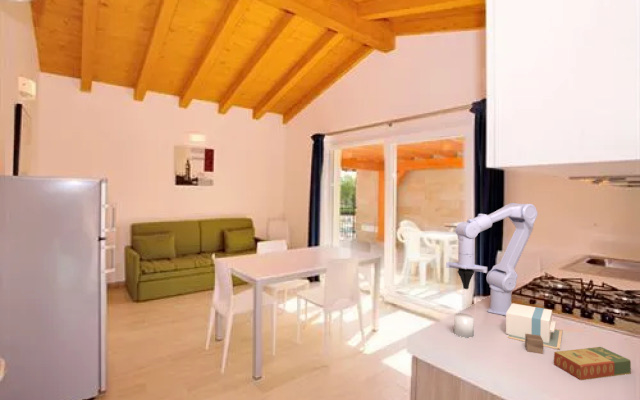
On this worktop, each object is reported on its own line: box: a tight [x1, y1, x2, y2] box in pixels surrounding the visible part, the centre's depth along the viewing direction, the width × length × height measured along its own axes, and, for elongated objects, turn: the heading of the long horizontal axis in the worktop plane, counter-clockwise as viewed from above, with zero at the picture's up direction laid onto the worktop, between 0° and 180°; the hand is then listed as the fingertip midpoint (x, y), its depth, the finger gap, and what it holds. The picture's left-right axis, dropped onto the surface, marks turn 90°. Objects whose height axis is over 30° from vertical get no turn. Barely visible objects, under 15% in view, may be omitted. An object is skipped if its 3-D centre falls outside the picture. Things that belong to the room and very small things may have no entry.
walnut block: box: [524, 334, 544, 355], centre depth 104 cm, size 4×4×4 cm
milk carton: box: [505, 302, 557, 343], centre depth 115 cm, size 12×7×13 cm
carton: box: [553, 346, 632, 381], centre depth 93 cm, size 8×16×4 cm, turn 101°
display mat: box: [507, 328, 563, 351], centre depth 114 cm, size 17×14×1 cm
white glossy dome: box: [453, 312, 475, 339], centre depth 115 cm, size 6×6×6 cm
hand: (466, 288), depth 131 cm, fingers closed
